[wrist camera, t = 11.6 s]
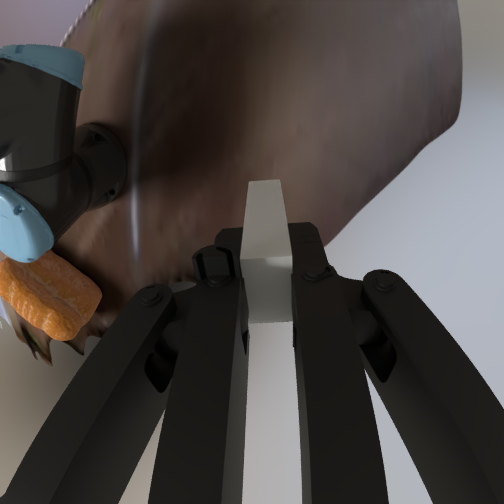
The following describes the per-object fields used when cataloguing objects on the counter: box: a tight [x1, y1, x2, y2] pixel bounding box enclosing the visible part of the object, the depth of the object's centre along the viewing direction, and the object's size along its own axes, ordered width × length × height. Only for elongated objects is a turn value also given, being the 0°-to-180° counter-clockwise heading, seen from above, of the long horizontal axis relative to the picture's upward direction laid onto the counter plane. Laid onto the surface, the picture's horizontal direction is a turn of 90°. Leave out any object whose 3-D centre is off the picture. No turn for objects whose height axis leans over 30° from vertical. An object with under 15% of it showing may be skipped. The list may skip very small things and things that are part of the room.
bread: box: [0, 249, 102, 341], centre depth 50 cm, size 14×26×15 cm, turn 49°
